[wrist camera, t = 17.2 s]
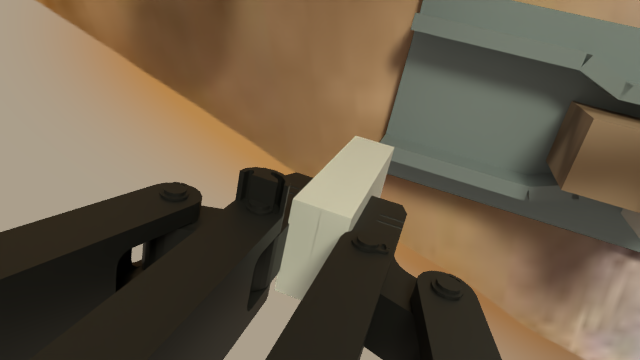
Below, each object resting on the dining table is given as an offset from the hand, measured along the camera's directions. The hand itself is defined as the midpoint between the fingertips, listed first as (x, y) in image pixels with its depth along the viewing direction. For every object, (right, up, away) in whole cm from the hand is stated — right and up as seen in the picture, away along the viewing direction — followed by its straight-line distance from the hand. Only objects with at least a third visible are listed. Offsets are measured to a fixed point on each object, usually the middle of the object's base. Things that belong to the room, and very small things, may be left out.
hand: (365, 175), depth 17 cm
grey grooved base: (+17, +5, +20) cm, 26 cm away
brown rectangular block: (+22, +2, +18) cm, 28 cm away
